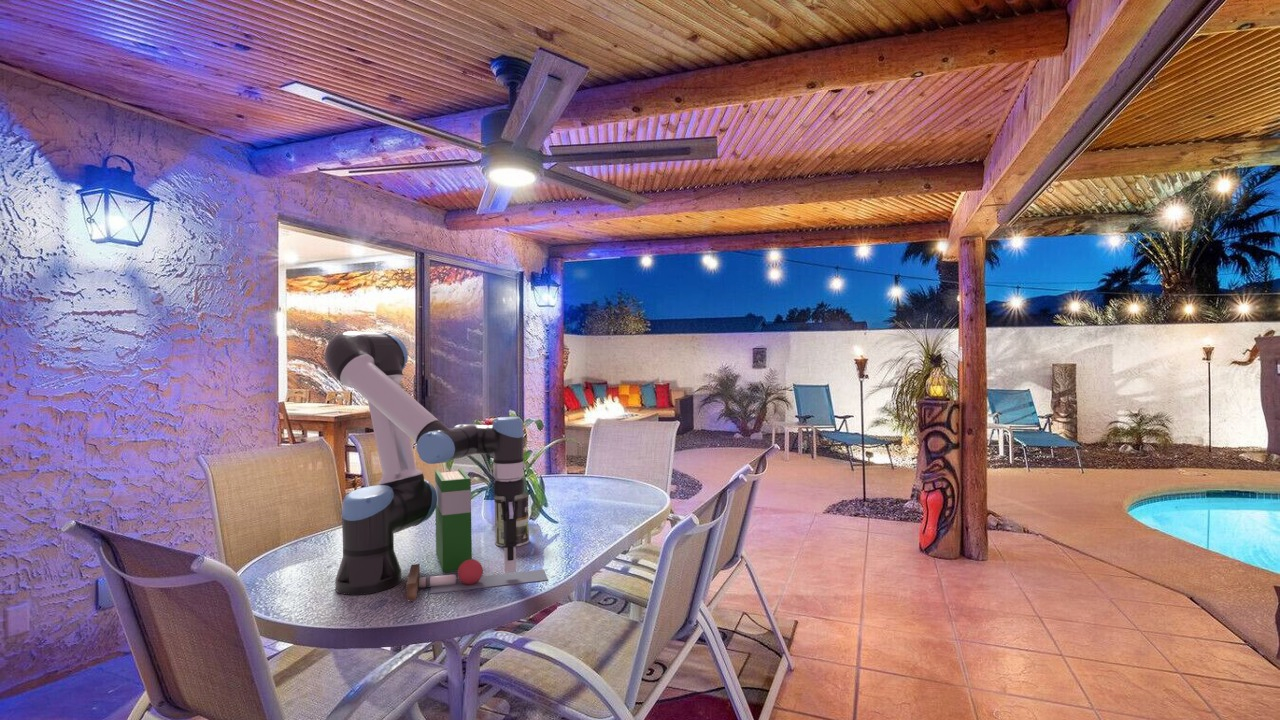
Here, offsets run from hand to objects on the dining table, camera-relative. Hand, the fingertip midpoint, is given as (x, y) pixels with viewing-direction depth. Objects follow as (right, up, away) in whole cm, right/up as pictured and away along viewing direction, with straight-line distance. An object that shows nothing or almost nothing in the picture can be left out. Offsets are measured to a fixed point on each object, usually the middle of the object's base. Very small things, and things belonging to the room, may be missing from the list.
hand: (510, 571), depth 154 cm
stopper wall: (-22, -2, -6) cm, 23 cm away
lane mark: (-5, -2, -1) cm, 5 cm away
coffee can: (-6, -2, +32) cm, 32 cm away
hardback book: (-19, -2, +15) cm, 25 cm away
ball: (-9, +1, -3) cm, 10 cm away
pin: (-13, -1, -3) cm, 13 cm away
